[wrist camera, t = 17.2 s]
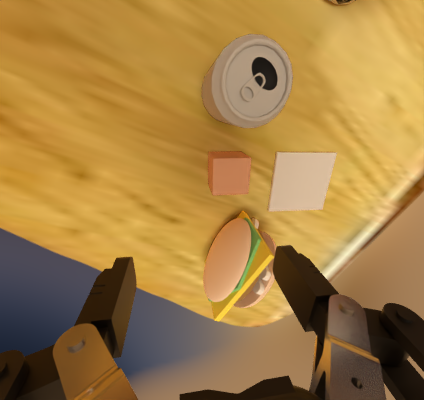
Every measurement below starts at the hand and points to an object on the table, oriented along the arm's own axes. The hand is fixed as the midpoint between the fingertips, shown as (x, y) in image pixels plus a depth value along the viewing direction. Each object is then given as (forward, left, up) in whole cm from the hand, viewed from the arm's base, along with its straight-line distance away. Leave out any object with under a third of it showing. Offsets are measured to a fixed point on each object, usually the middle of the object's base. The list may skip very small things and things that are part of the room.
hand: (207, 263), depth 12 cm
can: (-10, +5, -22) cm, 25 cm away
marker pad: (+3, +18, -22) cm, 29 cm away
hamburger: (+14, +7, -22) cm, 27 cm away
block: (0, +5, -22) cm, 22 cm away
